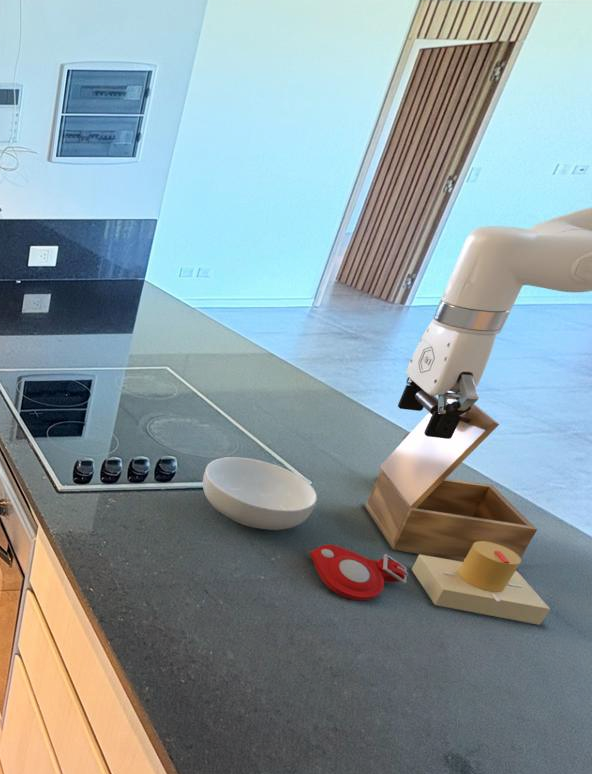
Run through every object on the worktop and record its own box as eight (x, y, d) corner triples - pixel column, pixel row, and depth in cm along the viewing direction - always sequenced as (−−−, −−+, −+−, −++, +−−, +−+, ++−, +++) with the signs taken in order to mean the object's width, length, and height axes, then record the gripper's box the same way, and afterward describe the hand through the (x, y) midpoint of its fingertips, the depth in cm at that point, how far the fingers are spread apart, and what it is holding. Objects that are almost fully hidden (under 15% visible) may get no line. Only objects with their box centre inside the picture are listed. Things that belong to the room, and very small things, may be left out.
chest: (472, 523, 105) (492, 485, 102) (513, 570, 95) (537, 529, 91) (365, 506, 110) (380, 469, 106) (393, 549, 99) (411, 510, 96)
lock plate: (505, 583, 92) (515, 567, 91) (542, 628, 84) (553, 611, 83) (409, 567, 96) (417, 550, 94) (436, 608, 88) (445, 591, 86)
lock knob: (451, 565, 91) (466, 536, 89) (493, 572, 90) (509, 543, 88) (468, 587, 87) (485, 558, 85) (512, 595, 86) (530, 565, 83)
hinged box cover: (456, 389, 98) (415, 374, 99) (499, 424, 87) (453, 406, 88) (384, 468, 106) (347, 453, 107) (415, 508, 95) (374, 492, 96)
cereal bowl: (316, 555, 98) (330, 519, 95) (201, 533, 103) (211, 498, 100) (292, 497, 112) (304, 464, 109) (192, 481, 118) (200, 449, 114)
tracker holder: (363, 605, 87) (300, 552, 93) (349, 620, 90) (289, 567, 96) (423, 569, 89) (358, 519, 96) (408, 584, 92) (346, 535, 99)
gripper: (412, 298, 96) (373, 396, 104) (467, 333, 82) (417, 444, 89) (471, 302, 94) (426, 402, 102) (538, 338, 80) (481, 452, 87)
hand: (422, 422), depth 96 cm, fingers open, 9 cm apart
